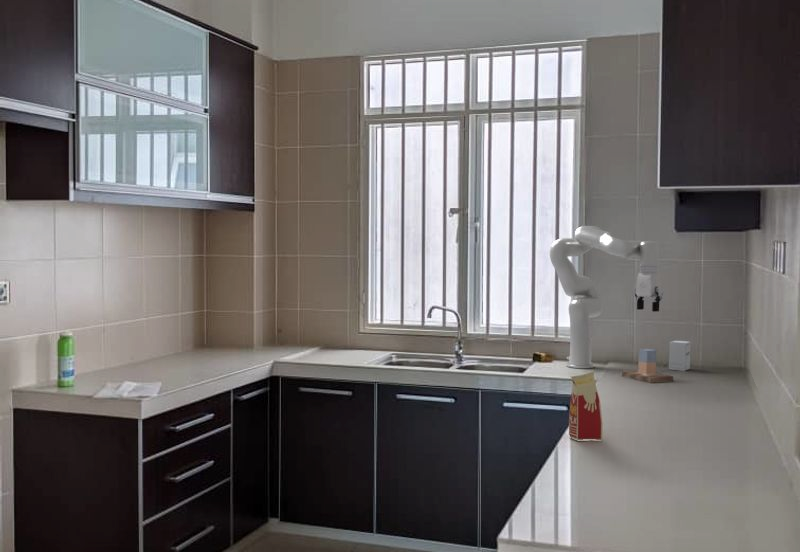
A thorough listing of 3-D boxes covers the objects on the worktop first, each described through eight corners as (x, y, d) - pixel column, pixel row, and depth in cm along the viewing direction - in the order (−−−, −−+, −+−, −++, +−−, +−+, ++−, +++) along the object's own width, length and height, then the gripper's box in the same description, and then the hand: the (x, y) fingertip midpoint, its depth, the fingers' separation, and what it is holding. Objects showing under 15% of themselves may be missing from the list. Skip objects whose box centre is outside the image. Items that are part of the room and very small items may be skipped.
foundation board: (621, 375, 349) (621, 370, 349) (644, 374, 353) (644, 369, 353) (650, 382, 332) (650, 377, 332) (673, 381, 337) (673, 376, 337)
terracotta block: (638, 372, 344) (638, 361, 344) (647, 372, 346) (647, 360, 346) (646, 374, 340) (646, 362, 339) (655, 374, 342) (656, 362, 341)
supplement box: (685, 371, 362) (685, 343, 362) (668, 369, 367) (669, 341, 366) (690, 369, 368) (691, 341, 368) (673, 367, 373) (674, 340, 372)
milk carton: (595, 434, 245) (596, 368, 244) (603, 442, 236) (605, 373, 235) (565, 434, 245) (566, 368, 244) (572, 442, 235) (573, 373, 234)
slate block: (638, 361, 344) (638, 349, 343) (647, 360, 346) (647, 348, 346) (646, 362, 339) (647, 350, 339) (656, 362, 341) (656, 350, 341)
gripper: (628, 269, 352) (627, 308, 353) (655, 271, 336) (654, 312, 337) (642, 269, 355) (641, 308, 356) (669, 271, 339) (668, 312, 340)
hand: (647, 310), depth 346 cm, fingers open, 9 cm apart
